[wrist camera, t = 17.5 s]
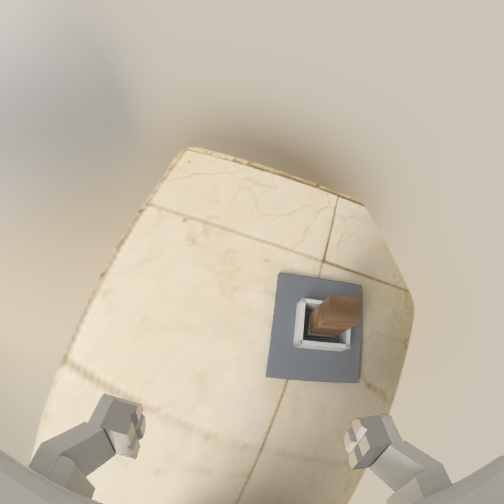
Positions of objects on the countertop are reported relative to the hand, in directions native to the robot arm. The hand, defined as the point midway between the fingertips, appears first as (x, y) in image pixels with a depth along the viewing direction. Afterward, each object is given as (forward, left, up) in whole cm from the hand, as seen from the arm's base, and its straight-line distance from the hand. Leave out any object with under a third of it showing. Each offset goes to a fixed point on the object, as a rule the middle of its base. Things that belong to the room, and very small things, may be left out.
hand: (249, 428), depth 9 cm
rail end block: (+12, -11, -28) cm, 32 cm away
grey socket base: (+12, -11, -29) cm, 33 cm away
